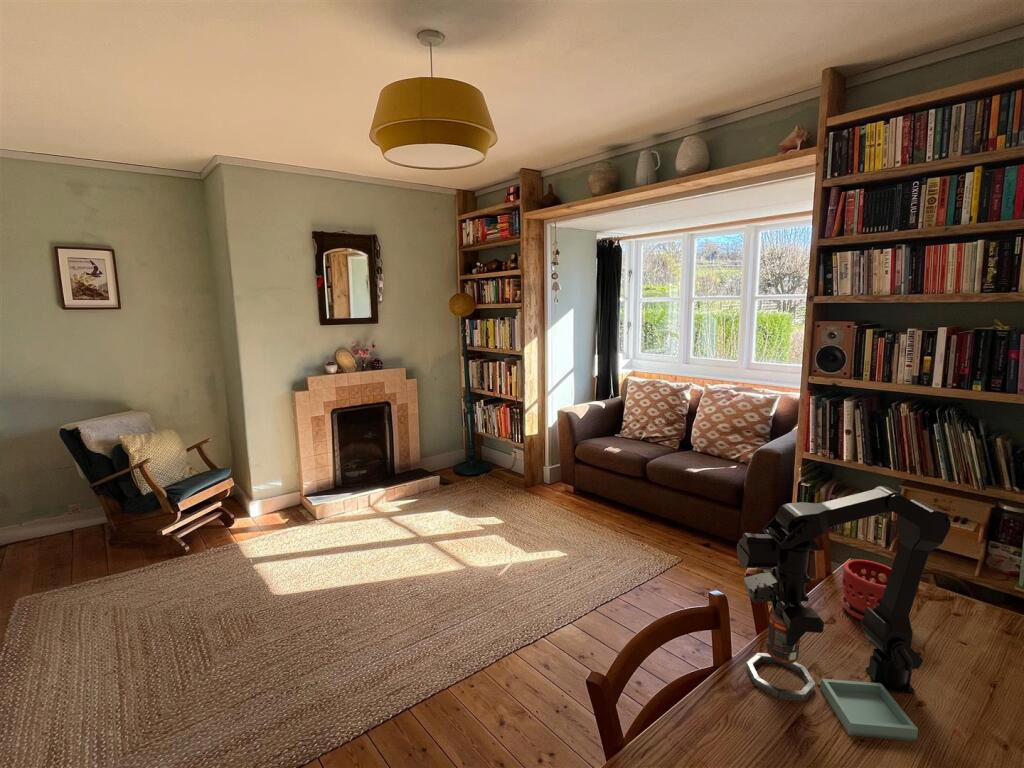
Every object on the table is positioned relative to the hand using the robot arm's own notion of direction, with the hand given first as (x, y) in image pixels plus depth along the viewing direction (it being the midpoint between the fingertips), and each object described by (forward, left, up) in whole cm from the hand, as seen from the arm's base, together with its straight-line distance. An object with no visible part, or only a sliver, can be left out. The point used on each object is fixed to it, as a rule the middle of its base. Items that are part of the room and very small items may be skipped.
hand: (784, 635), depth 110 cm
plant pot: (-32, -27, -10) cm, 43 cm away
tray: (-13, +8, -10) cm, 18 cm away
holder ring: (0, 0, -10) cm, 10 cm away
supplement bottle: (0, 0, -5) cm, 5 cm away
